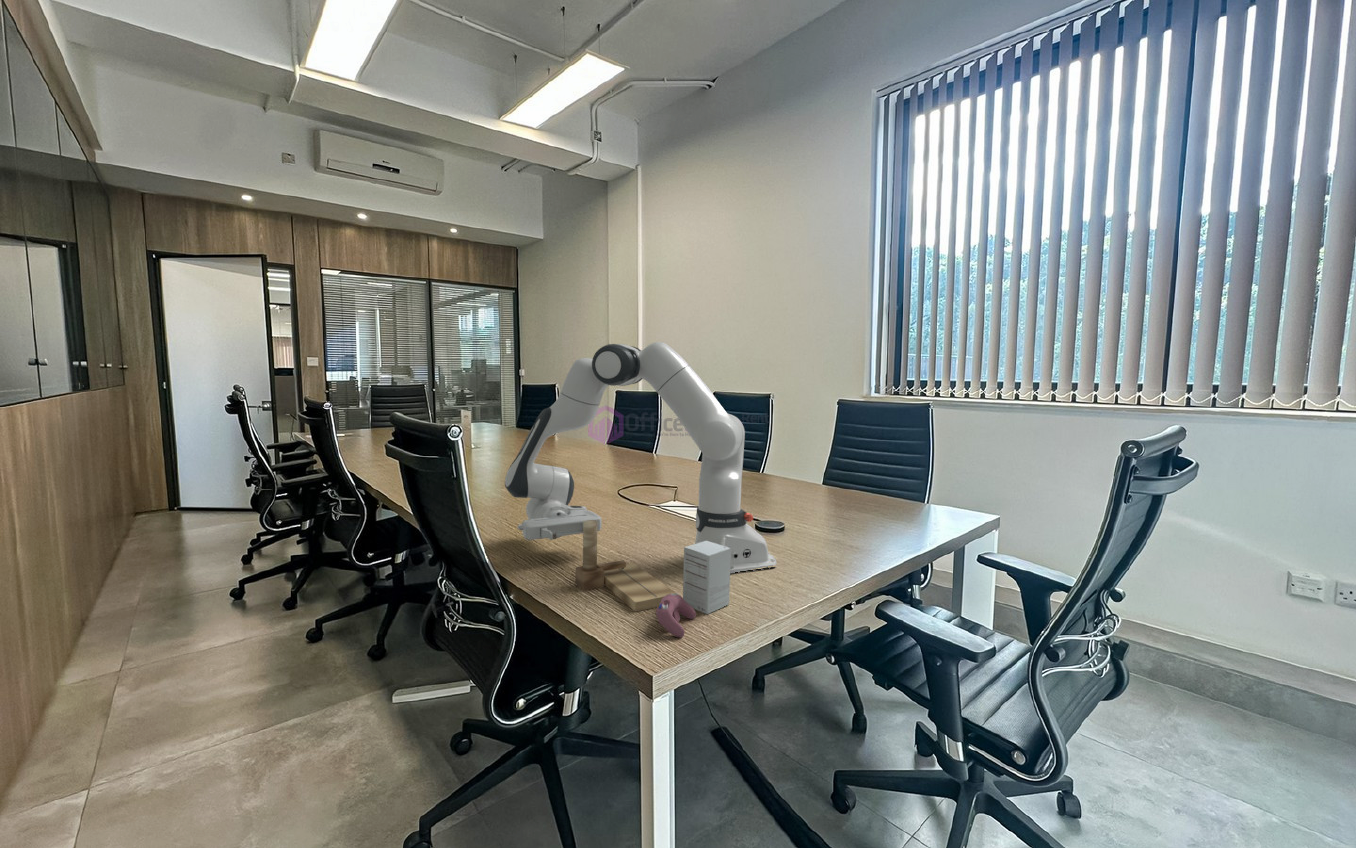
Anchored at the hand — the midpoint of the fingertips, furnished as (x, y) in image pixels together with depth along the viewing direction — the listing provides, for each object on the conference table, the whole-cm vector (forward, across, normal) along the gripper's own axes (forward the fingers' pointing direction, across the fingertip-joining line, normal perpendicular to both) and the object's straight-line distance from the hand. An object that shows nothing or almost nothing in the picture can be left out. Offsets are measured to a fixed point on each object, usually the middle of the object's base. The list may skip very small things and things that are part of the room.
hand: (572, 533), depth 134 cm
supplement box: (+33, +18, +9) cm, 39 cm away
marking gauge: (+12, +3, +9) cm, 15 cm away
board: (+18, +8, +9) cm, 22 cm away
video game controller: (+39, +7, +9) cm, 40 cm away
